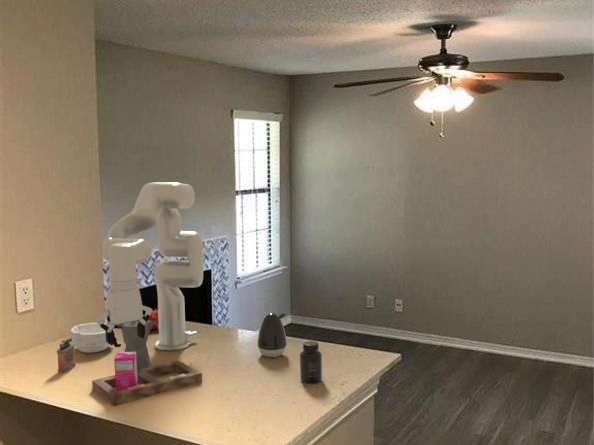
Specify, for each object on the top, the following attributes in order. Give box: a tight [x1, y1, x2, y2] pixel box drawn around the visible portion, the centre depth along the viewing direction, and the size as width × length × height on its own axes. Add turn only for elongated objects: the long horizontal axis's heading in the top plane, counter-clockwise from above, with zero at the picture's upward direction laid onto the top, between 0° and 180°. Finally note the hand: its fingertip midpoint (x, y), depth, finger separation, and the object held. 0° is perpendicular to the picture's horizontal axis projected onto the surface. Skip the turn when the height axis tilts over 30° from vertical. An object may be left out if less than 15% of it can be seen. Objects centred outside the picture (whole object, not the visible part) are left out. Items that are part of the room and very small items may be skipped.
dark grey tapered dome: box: [257, 312, 287, 358], centre depth 229 cm, size 10×10×15 cm
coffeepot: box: [112, 320, 155, 370], centre depth 217 cm, size 15×9×18 cm, turn 110°
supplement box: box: [113, 351, 139, 391], centre depth 196 cm, size 6×6×12 cm
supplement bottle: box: [299, 340, 323, 384], centre depth 205 cm, size 7×7×12 cm
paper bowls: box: [70, 322, 115, 354], centre depth 237 cm, size 15×15×8 cm
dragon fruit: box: [148, 308, 159, 331], centre depth 262 cm, size 8×8×12 cm
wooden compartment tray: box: [91, 359, 203, 407], centre depth 201 cm, size 29×16×3 cm, turn 129°
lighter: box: [56, 337, 76, 374], centre depth 216 cm, size 8×3×10 cm, turn 168°
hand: (126, 340), depth 195 cm, fingers open, 9 cm apart
